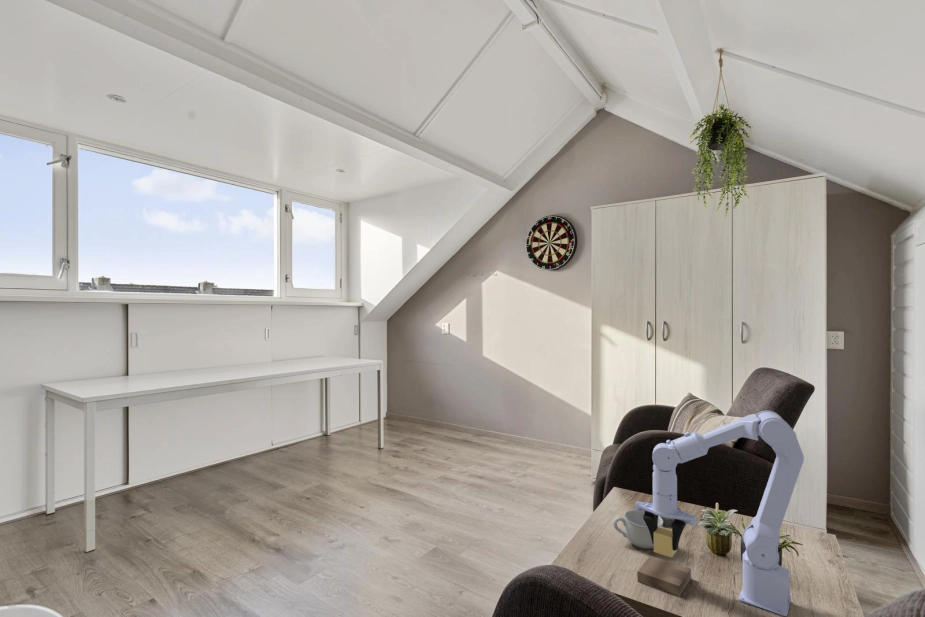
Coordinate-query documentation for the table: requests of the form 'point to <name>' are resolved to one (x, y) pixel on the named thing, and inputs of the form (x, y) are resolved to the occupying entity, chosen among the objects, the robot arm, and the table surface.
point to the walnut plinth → (664, 575)
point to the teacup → (636, 528)
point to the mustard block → (664, 542)
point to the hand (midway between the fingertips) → (665, 545)
